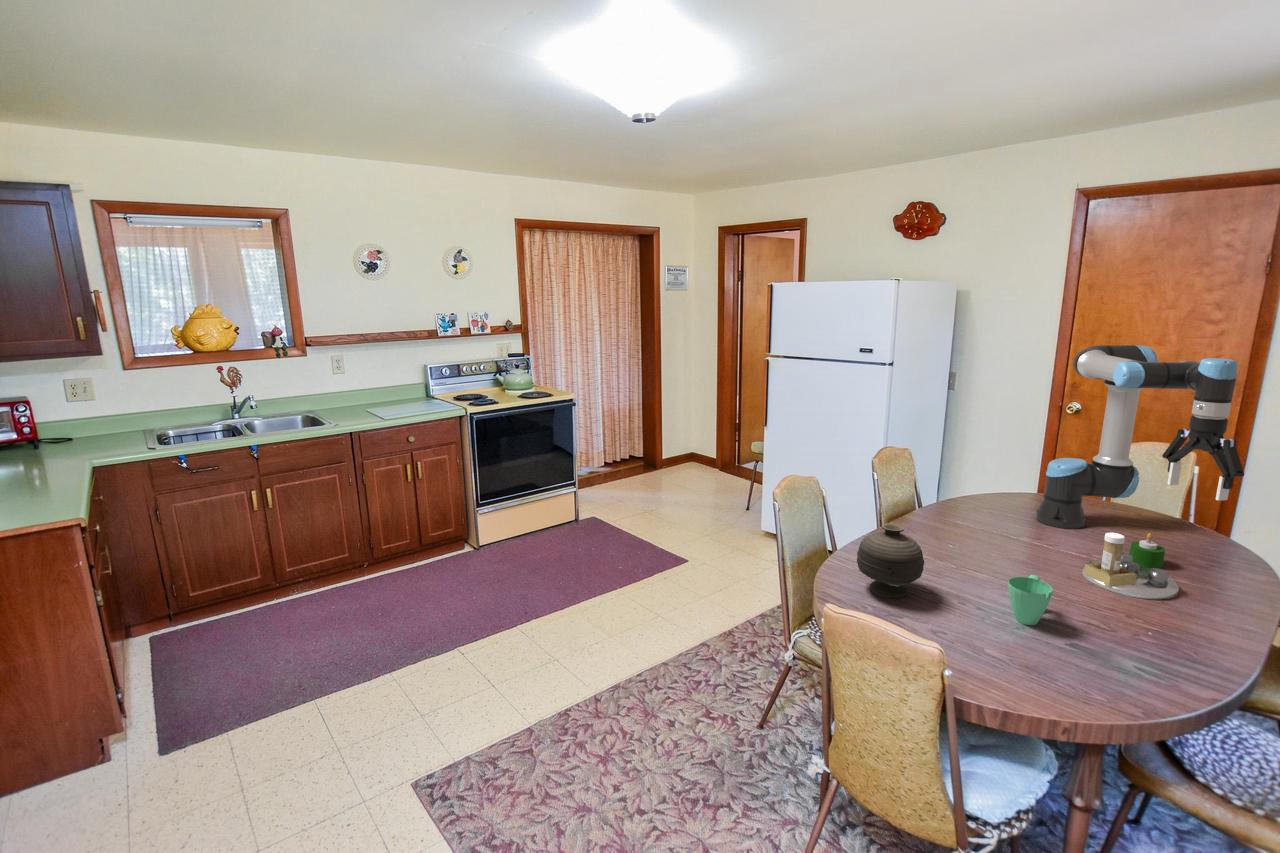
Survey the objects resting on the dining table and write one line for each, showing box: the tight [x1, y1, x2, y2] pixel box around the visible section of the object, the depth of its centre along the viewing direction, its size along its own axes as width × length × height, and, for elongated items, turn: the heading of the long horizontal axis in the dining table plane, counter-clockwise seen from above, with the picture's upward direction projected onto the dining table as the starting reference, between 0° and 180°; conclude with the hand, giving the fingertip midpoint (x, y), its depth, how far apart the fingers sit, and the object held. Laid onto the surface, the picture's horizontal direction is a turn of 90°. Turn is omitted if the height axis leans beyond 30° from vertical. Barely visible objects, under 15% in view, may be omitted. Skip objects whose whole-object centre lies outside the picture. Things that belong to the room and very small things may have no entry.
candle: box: [1128, 532, 1166, 569], centre depth 191 cm, size 8×8×10 cm
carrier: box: [1081, 552, 1179, 601], centre depth 180 cm, size 22×22×6 cm
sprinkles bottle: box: [1101, 532, 1126, 575], centre depth 178 cm, size 5×5×13 cm
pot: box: [856, 522, 925, 600], centre depth 177 cm, size 18×18×20 cm
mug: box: [1007, 574, 1054, 626], centre depth 162 cm, size 15×10×10 cm
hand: (1196, 492), depth 171 cm, fingers open, 13 cm apart
